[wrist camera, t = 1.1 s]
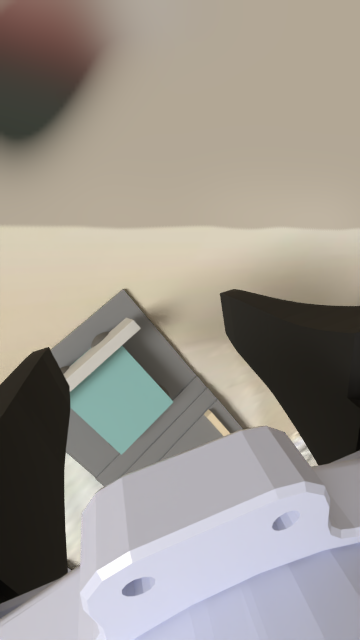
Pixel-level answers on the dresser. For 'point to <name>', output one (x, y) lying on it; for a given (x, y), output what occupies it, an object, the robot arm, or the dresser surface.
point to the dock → (165, 369)
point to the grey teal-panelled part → (115, 389)
